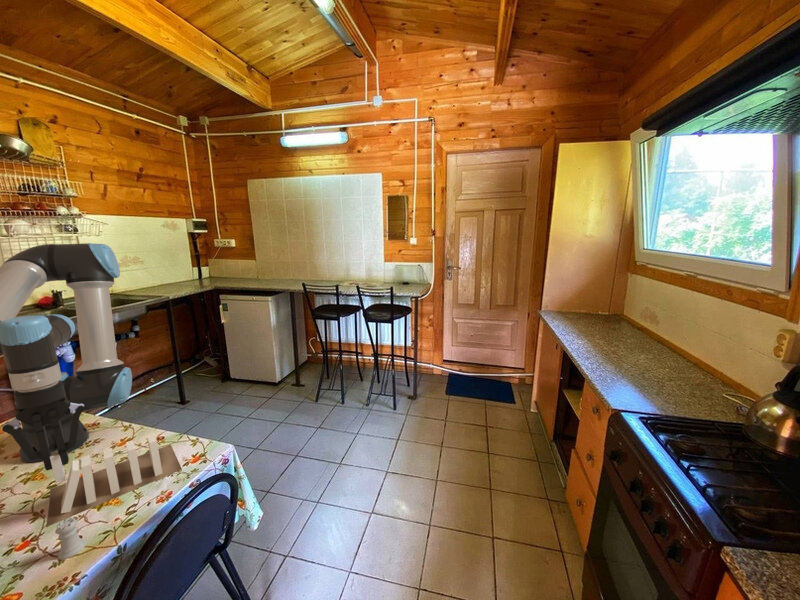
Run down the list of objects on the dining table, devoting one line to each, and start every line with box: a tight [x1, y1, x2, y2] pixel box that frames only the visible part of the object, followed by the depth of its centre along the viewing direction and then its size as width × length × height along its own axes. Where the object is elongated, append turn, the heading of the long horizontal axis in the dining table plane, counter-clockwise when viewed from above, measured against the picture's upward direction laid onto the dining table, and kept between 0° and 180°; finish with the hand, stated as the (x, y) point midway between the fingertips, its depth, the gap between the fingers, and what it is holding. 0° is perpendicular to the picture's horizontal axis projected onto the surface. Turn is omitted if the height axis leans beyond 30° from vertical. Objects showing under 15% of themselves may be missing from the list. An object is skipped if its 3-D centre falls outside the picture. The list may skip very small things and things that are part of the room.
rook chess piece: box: [54, 517, 87, 560], centre depth 67 cm, size 4×4×8 cm
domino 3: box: [102, 447, 120, 494], centre depth 84 cm, size 2×5×10 cm, turn 44°
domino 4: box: [125, 439, 142, 485], centre depth 87 cm, size 2×5×10 cm, turn 44°
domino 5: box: [146, 432, 162, 476], centre depth 90 cm, size 2×5×10 cm, turn 44°
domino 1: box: [61, 459, 82, 513], centre depth 79 cm, size 2×5×10 cm, turn 44°
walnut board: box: [46, 443, 183, 528], centre depth 88 cm, size 26×16×2 cm, turn 134°
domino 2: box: [80, 454, 96, 504], centre depth 81 cm, size 2×5×10 cm, turn 44°
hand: (60, 478), depth 77 cm, fingers closed
